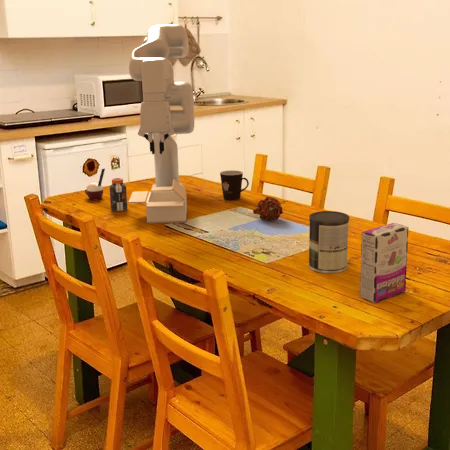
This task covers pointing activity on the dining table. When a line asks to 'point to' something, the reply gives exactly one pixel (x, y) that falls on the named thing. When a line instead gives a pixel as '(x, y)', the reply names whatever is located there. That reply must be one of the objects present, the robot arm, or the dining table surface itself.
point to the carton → (162, 205)
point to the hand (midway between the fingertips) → (157, 153)
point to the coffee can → (328, 241)
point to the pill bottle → (118, 195)
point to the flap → (178, 189)
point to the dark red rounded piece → (268, 209)
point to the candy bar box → (383, 262)
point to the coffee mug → (232, 184)
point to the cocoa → (95, 188)
